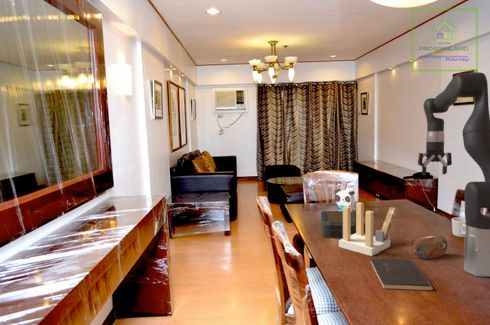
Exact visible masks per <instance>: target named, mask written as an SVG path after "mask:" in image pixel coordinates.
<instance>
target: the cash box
mask: <svg viewBox="0 0 490 325" xmlns="http://www.w3.org/2000/svg"><path fill="white" fill-rule="evenodd" d="M320 226H321V227H320V228H321V235H322V238H323V237H324V238H323V239H340V240H341V239H343V211H339V210H338V211H337V210H322V211H320ZM355 233H356V211H355V210H352V211H351V235H353V234H355ZM364 234H365V224H364Z"/></svg>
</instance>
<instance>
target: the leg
mask: <svg viewBox="0 0 490 325" xmlns="http://www.w3.org/2000/svg"><path fill="white" fill-rule="evenodd" d="M396 214H397V209H396V207H391V206H390V207H389V208H388V211H387V214H386V217H385V219H384V221H383V224H382V228H381V229H380V230H381V231H384V239H385V240H386V239H387V236H388V234H390V230H391V228H392V226H393V225H392V224H393V222H394V220H395V217H396Z"/></svg>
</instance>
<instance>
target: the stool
mask: <svg viewBox="0 0 490 325" xmlns="http://www.w3.org/2000/svg"><path fill="white" fill-rule="evenodd" d="M355 205H356V233H355V234H353V235H351V207H343V239H341V238H340V239H338V247H339V248H342V249H345V250H349V251H351V252H356V253H360V254H362V255H366V256H371V257H373V256H375V255H377V254H379V253H380V252H382V251H384V250H386V249H388V248H390V247H391V234H390V233H388V236H387V239H386V240H385V239H384V231H381V230H382V229H376V230H375V232H374V228H375V227H374V226H375V224H374V222H375V221H374V219H375V218H374V217H375V215H374V214H375V212H374V211H371V210H366V211H365V208H364V207H365V204H364V203H363V202H360V201H359V202H356V204H355ZM364 225H365V233H364Z"/></svg>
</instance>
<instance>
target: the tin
mask: <svg viewBox="0 0 490 325" xmlns="http://www.w3.org/2000/svg"><path fill="white" fill-rule="evenodd" d="M412 248H413V254H414V255H415V256H416V257H418V258H420V259H422V260H427V259H428V260H429V259H433V258H438V257H441V256H443V255H445V254H446V252H447V249H448V242H447V239H446V238H445V237H444V236H442V235H441V236H440V235H429V236H423V237H418V238H417V239H416V240H414V242H413V246H412Z"/></svg>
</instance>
